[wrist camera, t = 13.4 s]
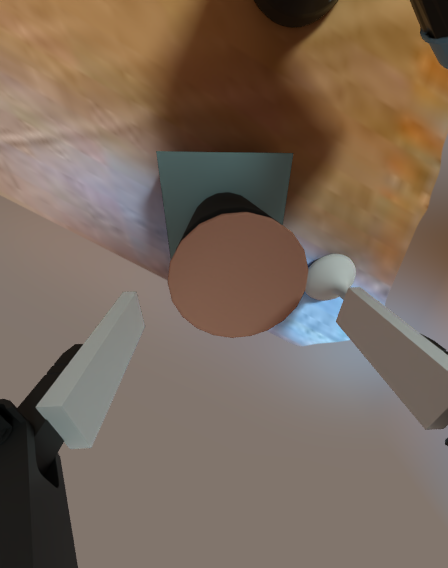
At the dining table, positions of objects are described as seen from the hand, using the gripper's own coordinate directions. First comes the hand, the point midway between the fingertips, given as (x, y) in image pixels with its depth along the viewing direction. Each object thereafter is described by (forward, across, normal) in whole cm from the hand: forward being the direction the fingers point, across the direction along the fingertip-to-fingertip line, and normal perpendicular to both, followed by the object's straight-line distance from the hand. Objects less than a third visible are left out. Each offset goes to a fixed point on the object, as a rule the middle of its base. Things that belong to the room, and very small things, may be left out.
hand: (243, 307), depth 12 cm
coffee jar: (+21, 0, 0) cm, 21 cm away
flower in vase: (+29, -24, +13) cm, 40 cm away
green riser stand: (+29, 0, 0) cm, 29 cm away
